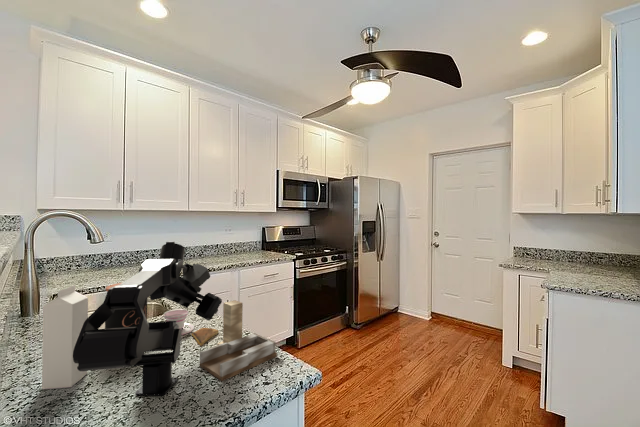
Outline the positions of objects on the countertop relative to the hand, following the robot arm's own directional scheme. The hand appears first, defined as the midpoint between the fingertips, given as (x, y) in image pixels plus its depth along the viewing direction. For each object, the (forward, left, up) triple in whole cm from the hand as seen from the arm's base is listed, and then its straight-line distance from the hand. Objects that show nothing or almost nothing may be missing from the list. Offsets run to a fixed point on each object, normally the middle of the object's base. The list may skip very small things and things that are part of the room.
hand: (205, 305), depth 89 cm
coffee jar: (+1, +24, -12) cm, 27 cm away
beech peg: (+1, -8, -12) cm, 15 cm away
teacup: (+12, +15, -13) cm, 23 cm away
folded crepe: (+7, +2, -13) cm, 15 cm away
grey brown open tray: (-8, -13, -12) cm, 20 cm away
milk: (-19, +25, -12) cm, 34 cm away
